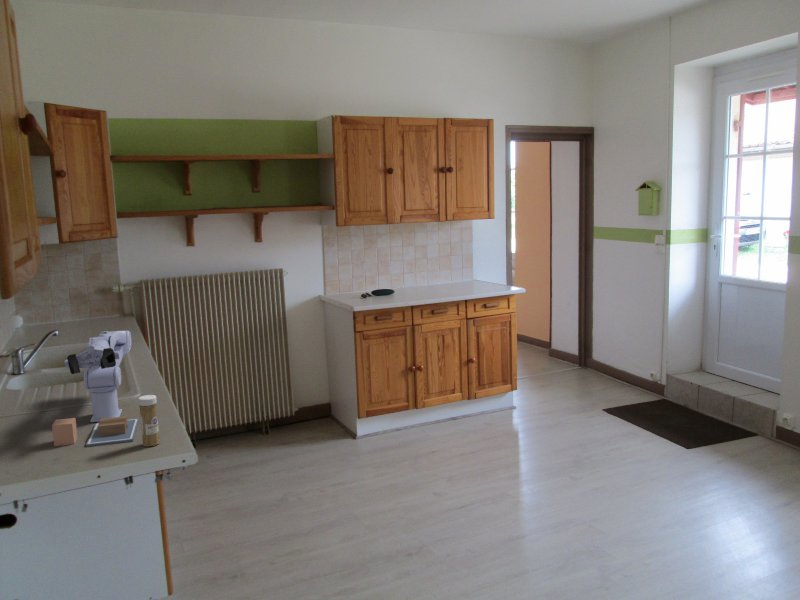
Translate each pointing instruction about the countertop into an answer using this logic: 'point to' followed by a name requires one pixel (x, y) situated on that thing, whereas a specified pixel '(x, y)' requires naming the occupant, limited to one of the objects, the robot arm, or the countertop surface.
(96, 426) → the board
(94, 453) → the countertop surface
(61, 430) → the terracotta block
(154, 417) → the sprinkles bottle
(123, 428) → the walnut base block
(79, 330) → the countertop surface
